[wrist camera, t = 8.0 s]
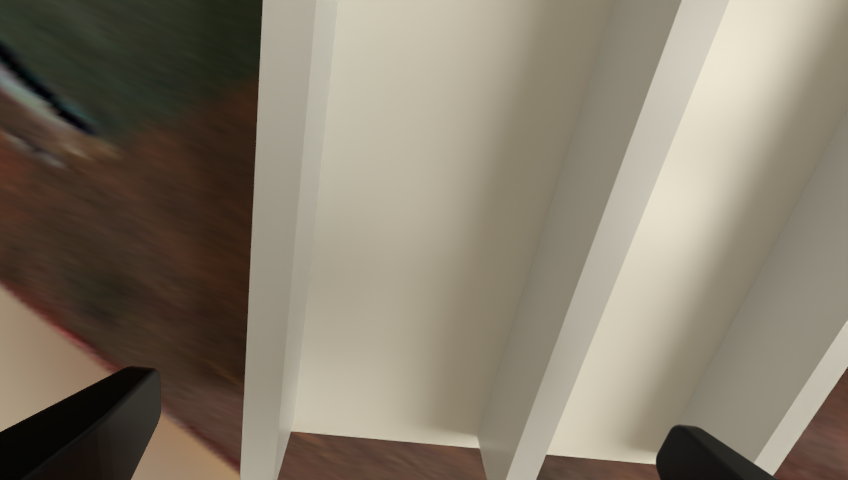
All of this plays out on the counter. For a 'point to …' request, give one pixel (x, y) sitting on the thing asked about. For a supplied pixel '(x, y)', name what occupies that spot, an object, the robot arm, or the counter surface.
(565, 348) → the tiered shelf rack
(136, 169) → the counter surface
